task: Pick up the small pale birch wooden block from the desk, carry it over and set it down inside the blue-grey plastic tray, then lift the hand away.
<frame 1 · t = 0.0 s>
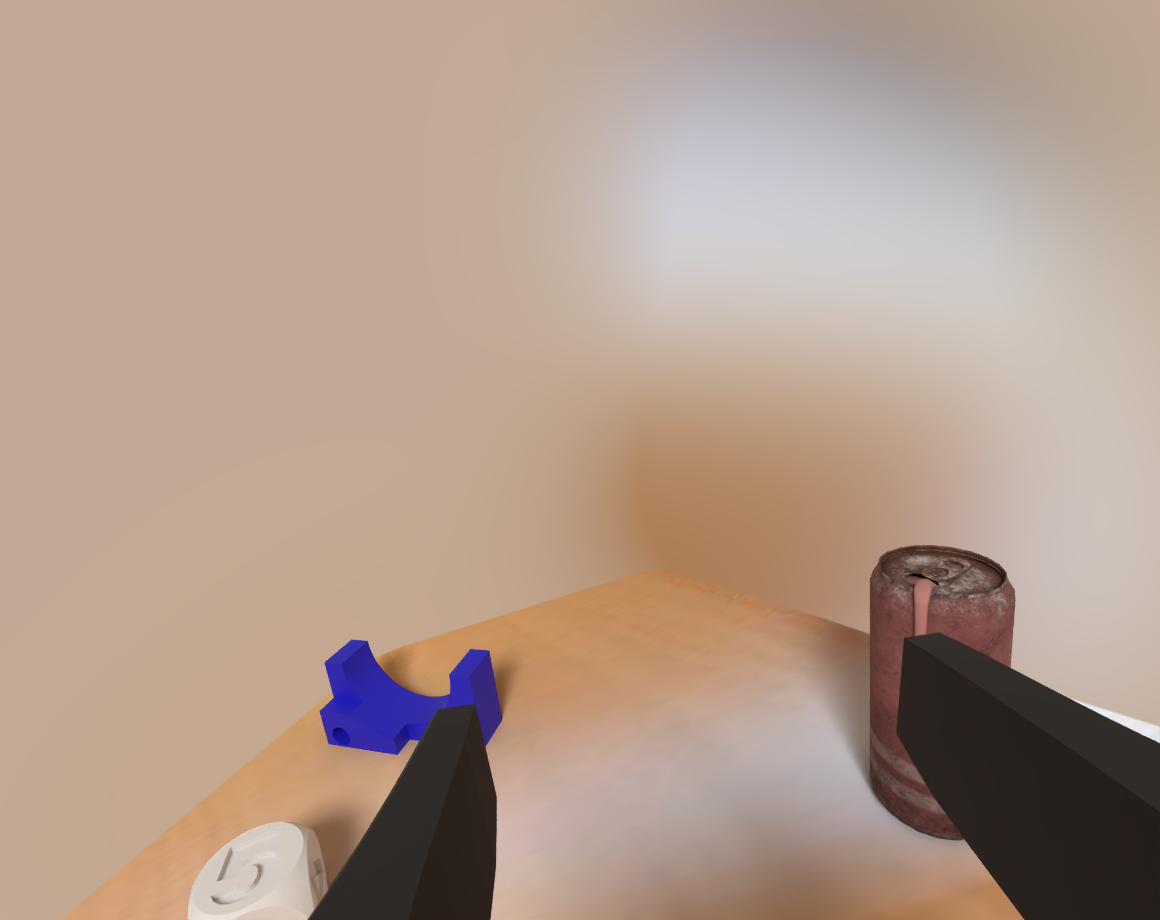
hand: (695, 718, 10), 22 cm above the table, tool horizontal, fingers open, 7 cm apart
can: (931, 801, 32), on the table
blue curved piece: (416, 736, 43), on the table
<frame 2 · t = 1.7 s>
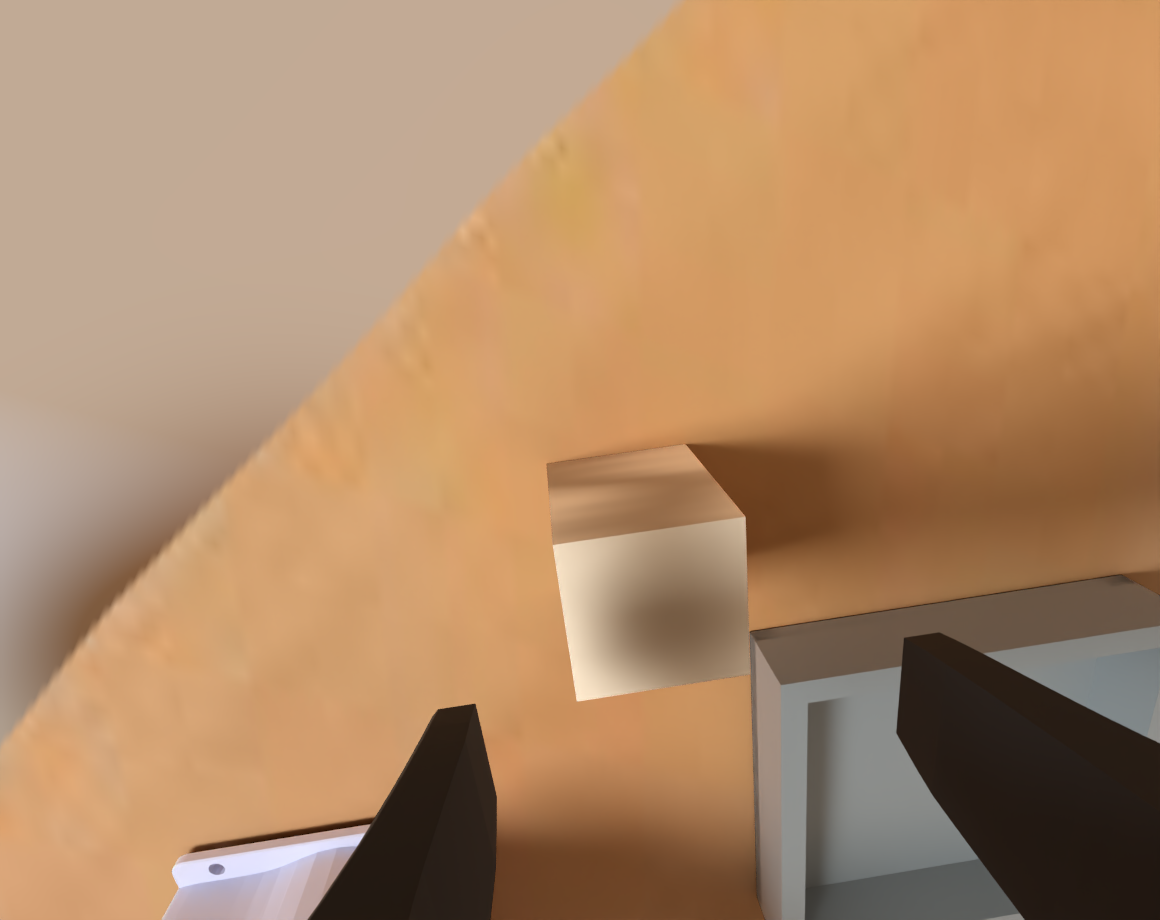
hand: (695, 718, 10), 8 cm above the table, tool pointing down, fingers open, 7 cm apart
tray: (922, 750, 21), on the table
block: (622, 516, 17), on the table
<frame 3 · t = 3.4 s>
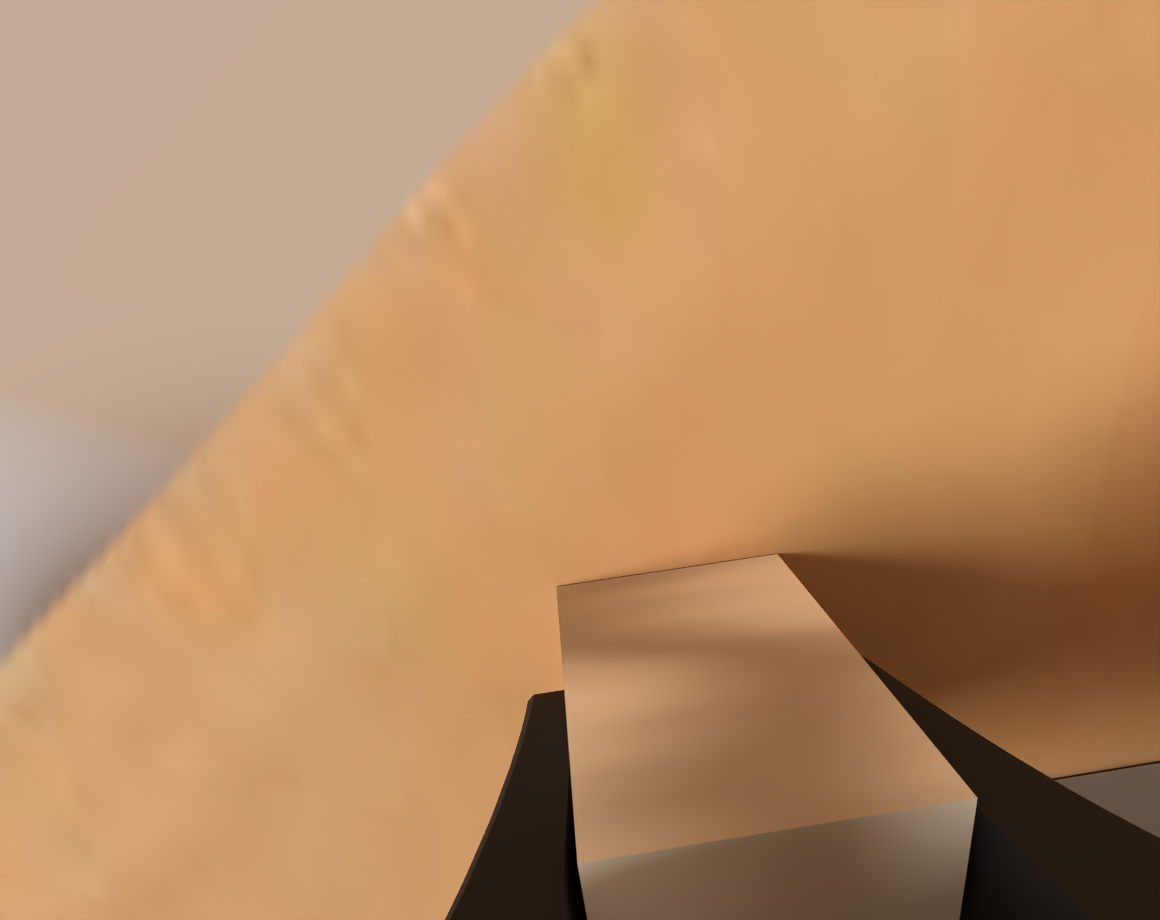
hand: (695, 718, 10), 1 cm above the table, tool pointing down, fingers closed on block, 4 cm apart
block: (675, 661, 11), on the table, touching gripper
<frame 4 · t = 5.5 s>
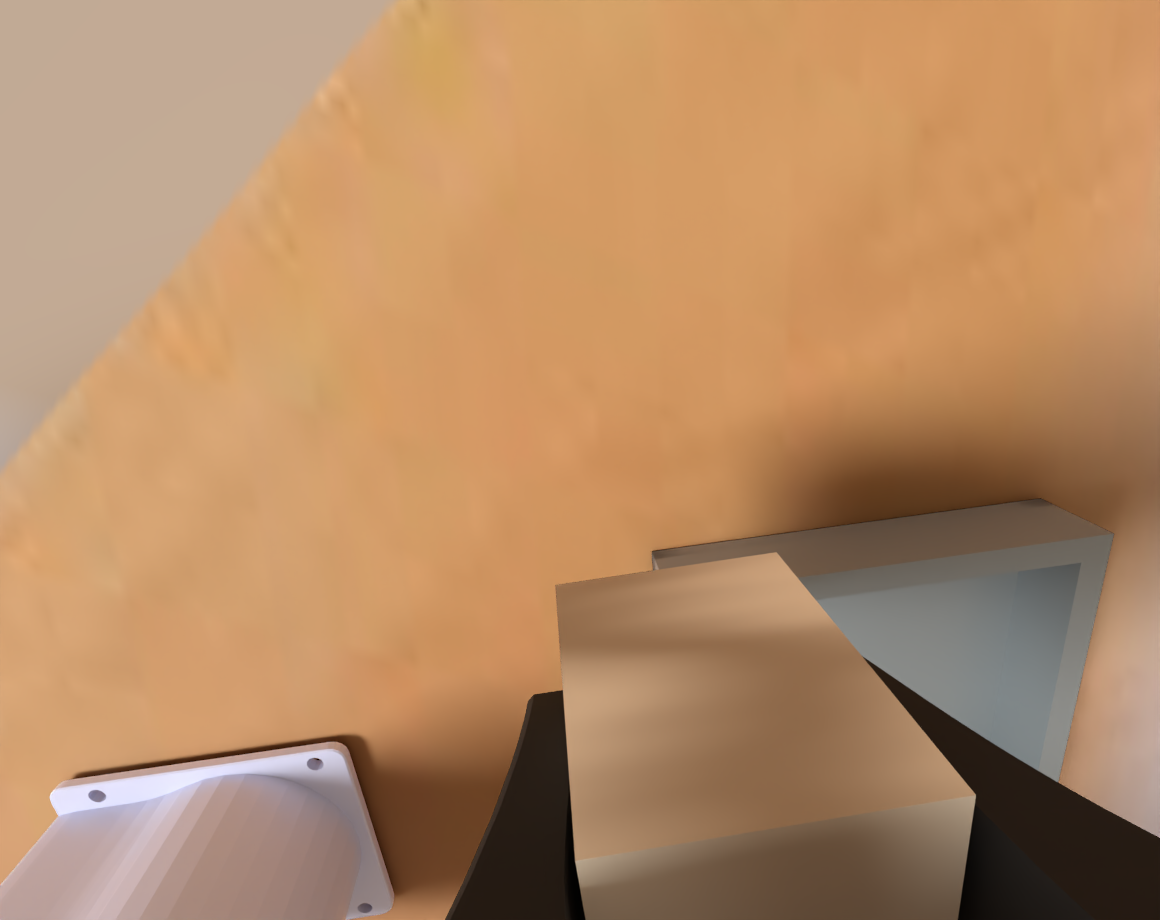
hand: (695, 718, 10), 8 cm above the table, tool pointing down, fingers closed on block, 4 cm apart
tray: (840, 685, 21), on the table
block: (674, 660, 11), point 7 cm above the table, touching gripper
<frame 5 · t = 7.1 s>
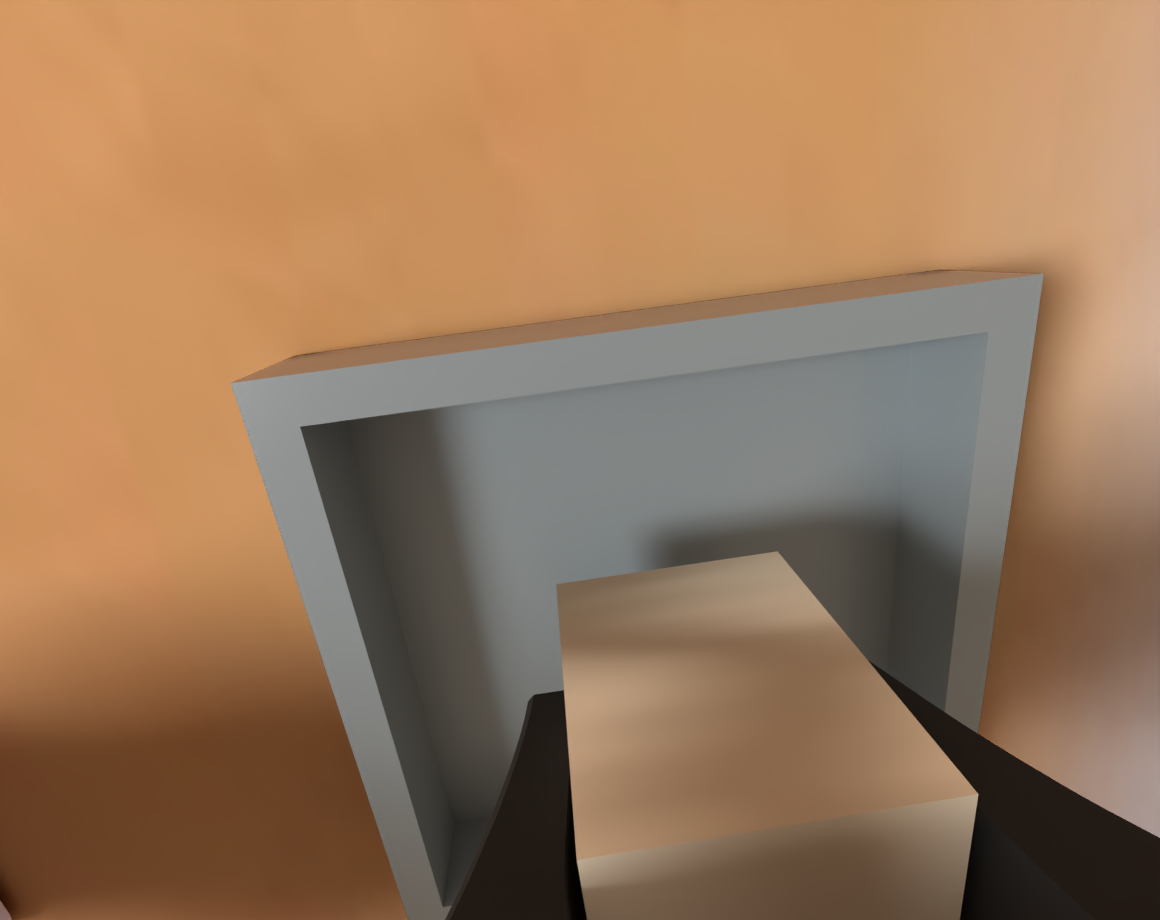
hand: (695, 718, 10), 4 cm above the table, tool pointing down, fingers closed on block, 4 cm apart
tray: (649, 591, 13), on the table
block: (674, 659, 11), point 2 cm above the table, touching gripper
when the fingers open (3 cm above the table, at t = 8.0 s): block drops 1 cm, resting on tray.
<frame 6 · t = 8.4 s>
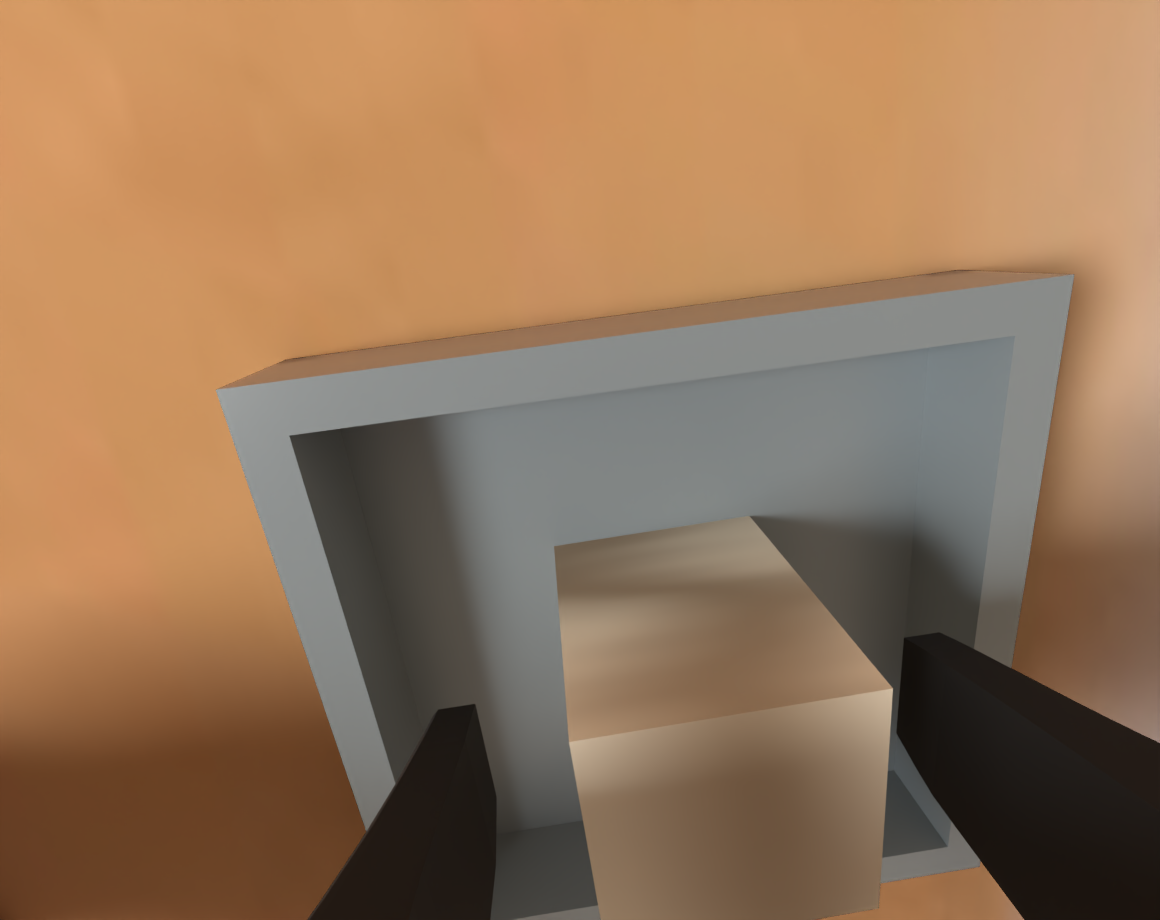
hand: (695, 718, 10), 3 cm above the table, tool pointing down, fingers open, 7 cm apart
tray: (654, 603, 13), on the table
block: (660, 614, 12), resting on tray
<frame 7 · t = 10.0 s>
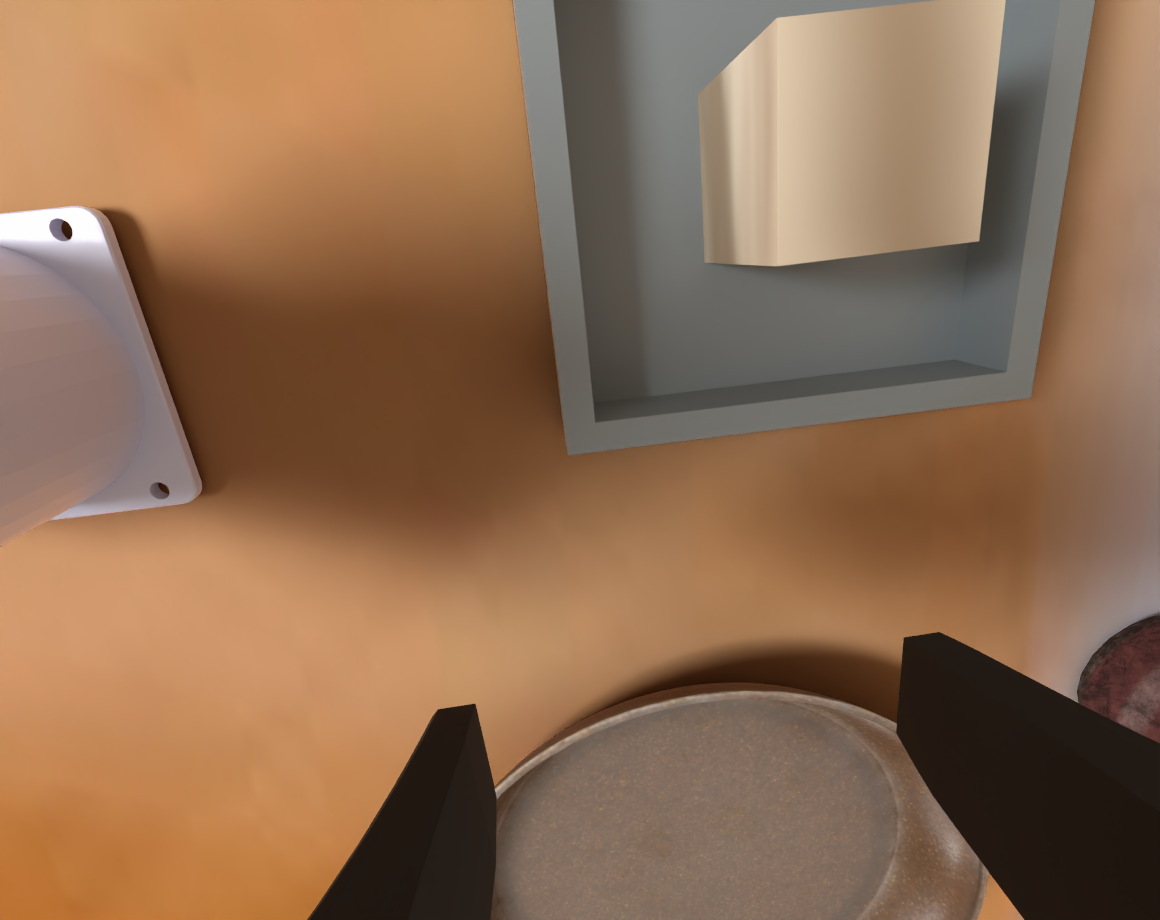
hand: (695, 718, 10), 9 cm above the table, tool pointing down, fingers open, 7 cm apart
plant saucer: (691, 840, 25), on the table
can: (1138, 669, 23), on the table
tray: (768, 177, 16), on the table
block: (776, 173, 15), resting on tray
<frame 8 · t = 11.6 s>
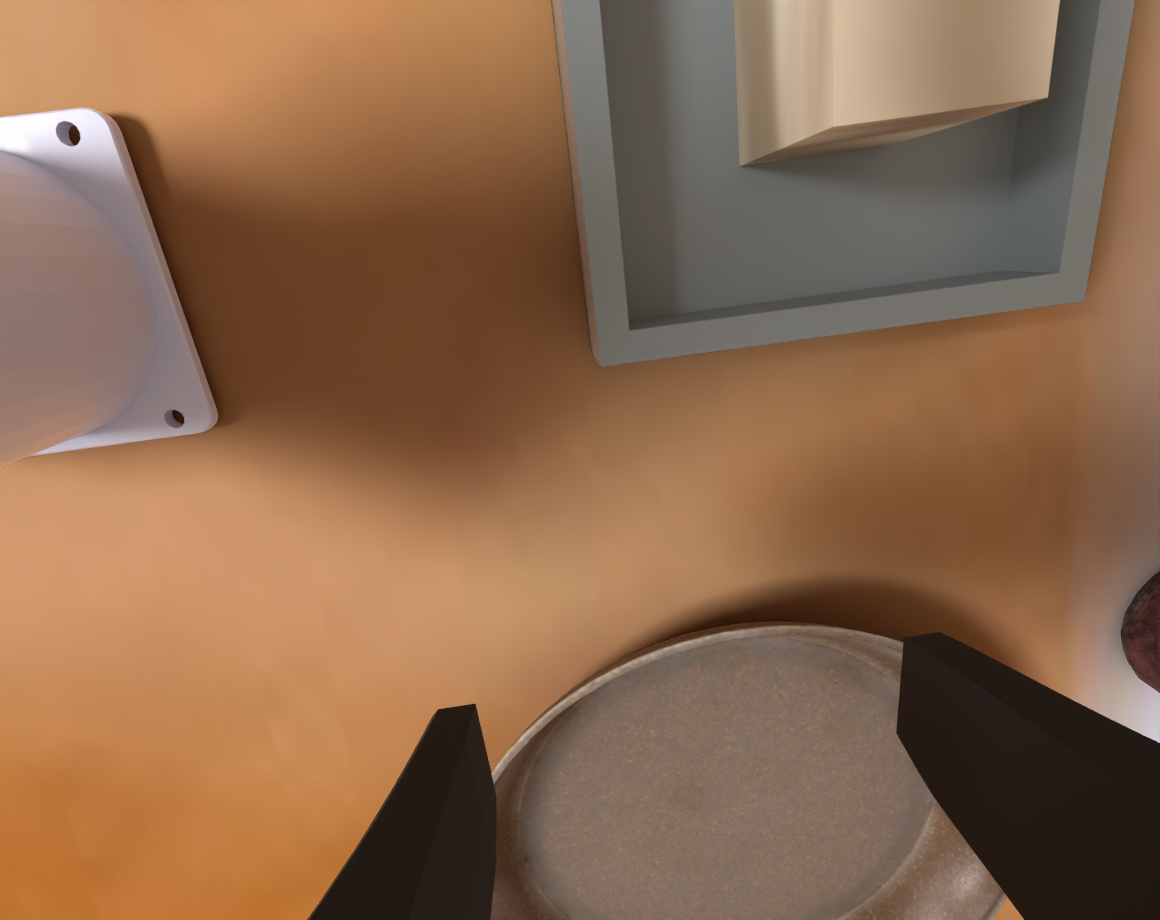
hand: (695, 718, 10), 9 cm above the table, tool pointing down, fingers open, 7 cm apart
plant saucer: (722, 794, 24), on the table
tray: (805, 75, 15), on the table
block: (815, 67, 15), resting on tray
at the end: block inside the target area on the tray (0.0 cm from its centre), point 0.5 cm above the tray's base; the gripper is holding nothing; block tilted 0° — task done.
